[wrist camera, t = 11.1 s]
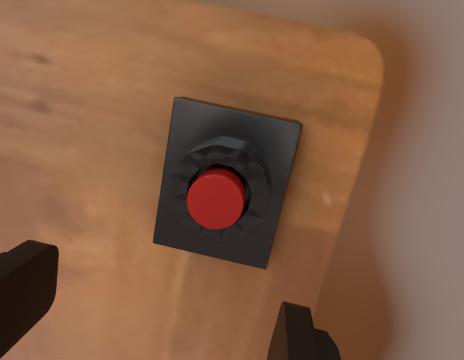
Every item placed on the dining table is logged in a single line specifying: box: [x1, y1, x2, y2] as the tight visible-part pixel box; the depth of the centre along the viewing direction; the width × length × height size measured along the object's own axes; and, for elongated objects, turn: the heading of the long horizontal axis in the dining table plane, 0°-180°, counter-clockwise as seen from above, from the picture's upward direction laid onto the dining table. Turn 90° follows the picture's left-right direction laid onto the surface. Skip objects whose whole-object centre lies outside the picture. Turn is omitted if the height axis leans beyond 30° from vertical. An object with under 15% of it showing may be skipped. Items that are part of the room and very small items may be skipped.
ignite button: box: [187, 168, 246, 229], centre depth 19 cm, size 3×3×2 cm
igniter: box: [153, 97, 302, 269], centre depth 22 cm, size 10×8×4 cm
